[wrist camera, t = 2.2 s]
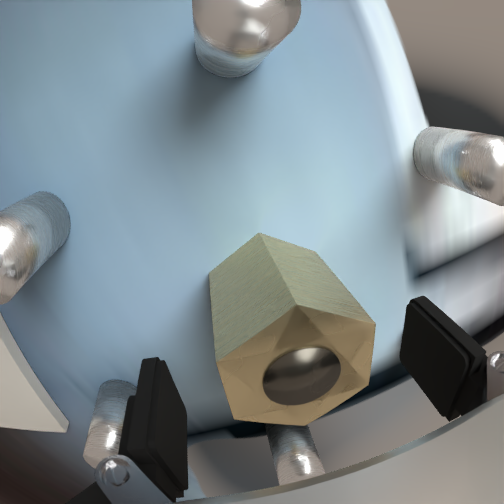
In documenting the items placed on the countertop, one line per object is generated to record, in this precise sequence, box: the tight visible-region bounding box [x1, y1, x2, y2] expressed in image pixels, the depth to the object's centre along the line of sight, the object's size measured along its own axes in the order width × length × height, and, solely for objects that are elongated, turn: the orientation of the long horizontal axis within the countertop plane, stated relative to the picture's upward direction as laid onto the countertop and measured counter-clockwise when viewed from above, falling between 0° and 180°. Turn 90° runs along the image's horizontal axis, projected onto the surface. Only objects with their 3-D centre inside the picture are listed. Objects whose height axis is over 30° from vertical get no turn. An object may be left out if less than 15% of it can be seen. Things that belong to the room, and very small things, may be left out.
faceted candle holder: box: [209, 233, 376, 426], centre depth 12 cm, size 6×5×6 cm
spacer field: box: [0, 0, 504, 485], centre depth 13 cm, size 25×22×5 cm
